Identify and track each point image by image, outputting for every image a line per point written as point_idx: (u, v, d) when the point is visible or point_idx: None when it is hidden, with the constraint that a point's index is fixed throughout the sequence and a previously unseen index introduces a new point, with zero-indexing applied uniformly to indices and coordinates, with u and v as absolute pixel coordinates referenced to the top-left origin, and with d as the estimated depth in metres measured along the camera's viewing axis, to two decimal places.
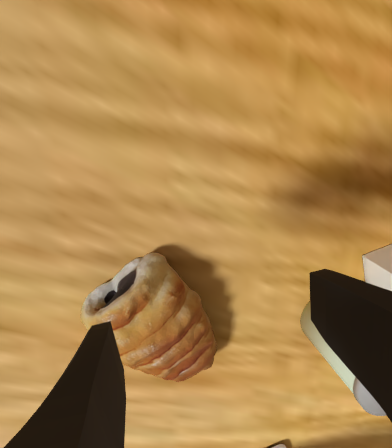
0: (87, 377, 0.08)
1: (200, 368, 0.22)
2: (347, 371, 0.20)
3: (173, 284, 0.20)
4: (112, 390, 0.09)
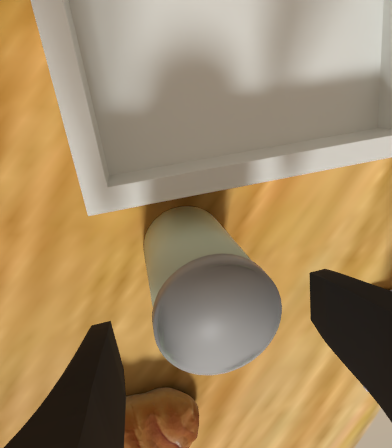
0: (87, 377, 0.08)
1: (179, 429, 0.19)
2: None
3: None
4: (112, 390, 0.09)
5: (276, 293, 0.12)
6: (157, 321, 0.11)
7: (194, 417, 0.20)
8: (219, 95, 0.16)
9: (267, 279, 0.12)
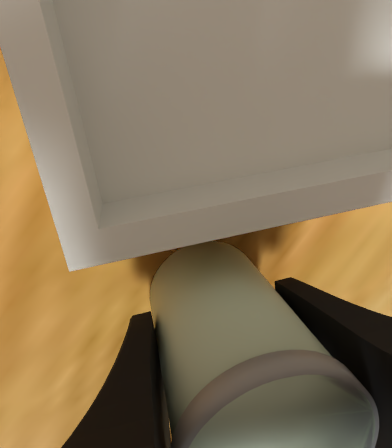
0: (142, 362, 0.08)
1: None
2: None
3: None
4: (159, 377, 0.10)
5: (373, 411, 0.07)
6: None
7: None
8: (259, 89, 0.11)
9: (362, 392, 0.07)
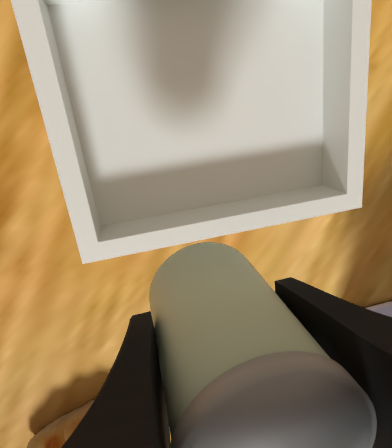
0: (142, 362, 0.08)
1: None
2: None
3: None
4: (159, 377, 0.10)
5: (371, 413, 0.07)
6: None
7: None
8: (190, 163, 0.19)
9: (361, 394, 0.07)
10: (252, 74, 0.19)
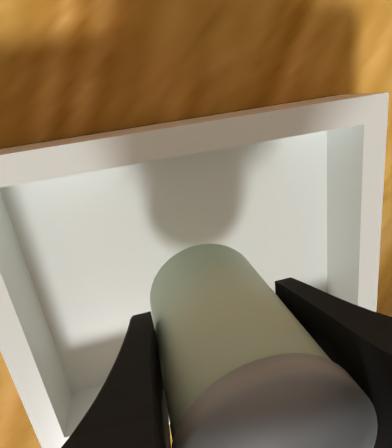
0: (142, 362, 0.08)
1: None
2: None
3: None
4: (159, 377, 0.10)
5: (372, 418, 0.07)
6: None
7: None
8: None
9: (363, 398, 0.07)
10: (245, 223, 0.16)
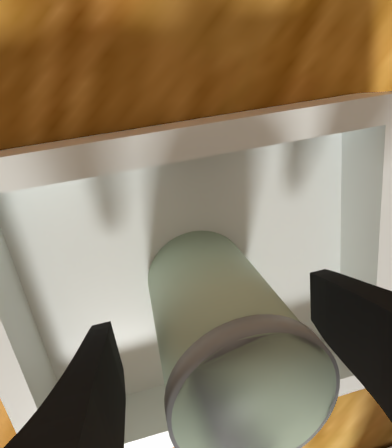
0: (87, 377, 0.08)
1: None
2: None
3: None
4: (112, 390, 0.09)
5: (335, 370, 0.09)
6: (173, 408, 0.08)
7: None
8: None
9: (326, 352, 0.09)
10: (253, 231, 0.15)
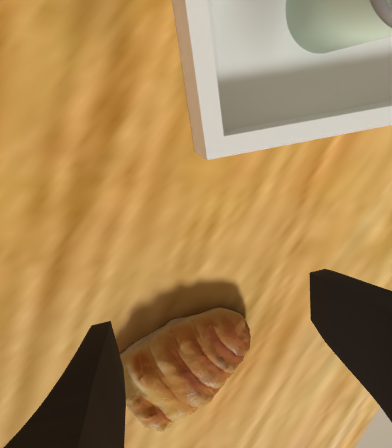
0: (87, 377, 0.08)
1: (235, 337, 0.22)
2: (380, 30, 0.14)
3: (133, 370, 0.21)
4: (112, 390, 0.09)
5: None
6: None
7: (246, 329, 0.23)
8: (302, 65, 0.19)
9: None
10: None
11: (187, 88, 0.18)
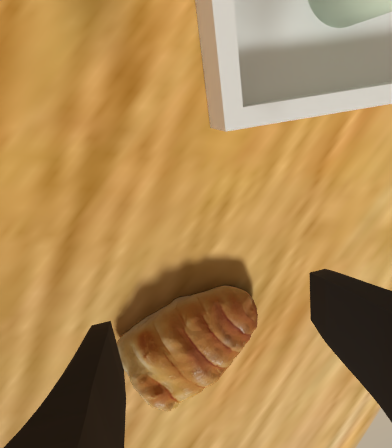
0: (87, 377, 0.08)
1: (242, 314, 0.21)
2: None
3: (138, 348, 0.21)
4: (112, 390, 0.09)
5: None
6: None
7: (253, 307, 0.22)
8: (320, 39, 0.19)
9: None
10: None
11: (205, 60, 0.18)
